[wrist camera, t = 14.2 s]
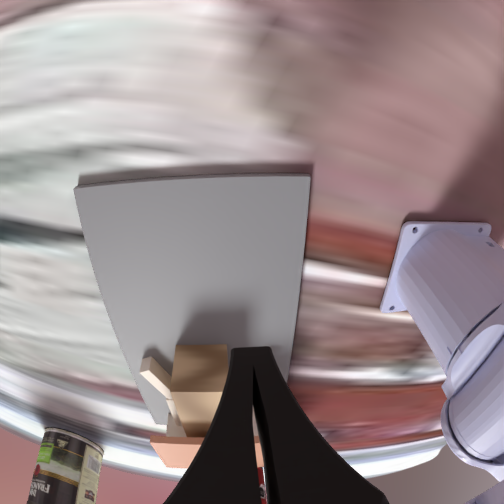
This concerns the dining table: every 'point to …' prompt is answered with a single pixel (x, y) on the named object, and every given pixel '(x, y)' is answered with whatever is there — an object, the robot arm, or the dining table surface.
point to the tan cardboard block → (198, 385)
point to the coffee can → (66, 469)
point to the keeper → (196, 275)
